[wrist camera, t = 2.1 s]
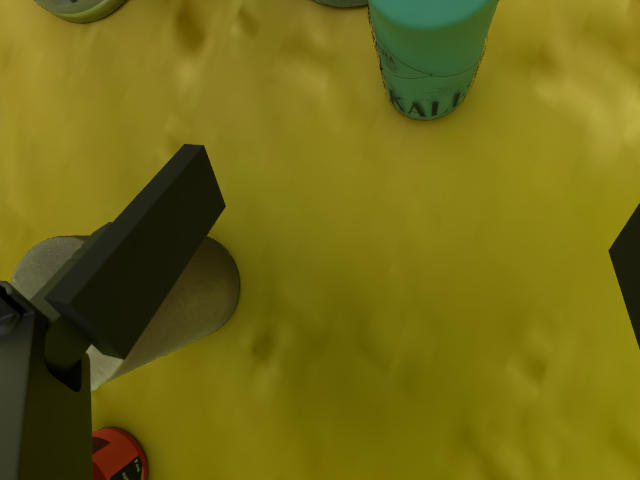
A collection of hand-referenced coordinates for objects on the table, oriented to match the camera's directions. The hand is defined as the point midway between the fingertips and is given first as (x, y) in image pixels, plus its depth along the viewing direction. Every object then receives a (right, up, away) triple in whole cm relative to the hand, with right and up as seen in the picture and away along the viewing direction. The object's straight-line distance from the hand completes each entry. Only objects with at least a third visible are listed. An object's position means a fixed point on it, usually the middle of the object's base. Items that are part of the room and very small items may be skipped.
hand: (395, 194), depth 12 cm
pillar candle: (-14, -6, +24) cm, 29 cm away
